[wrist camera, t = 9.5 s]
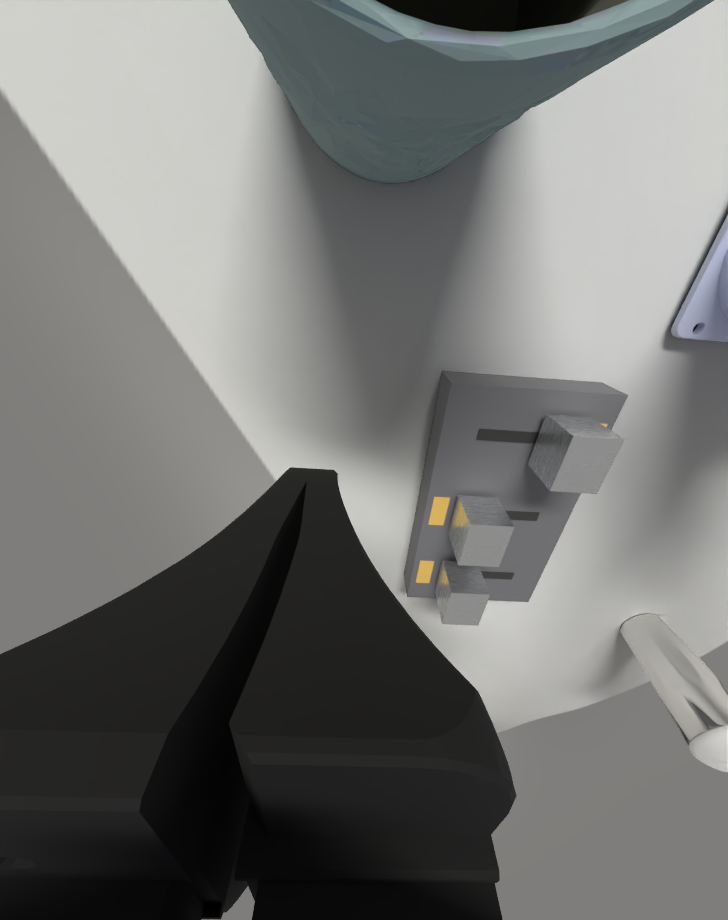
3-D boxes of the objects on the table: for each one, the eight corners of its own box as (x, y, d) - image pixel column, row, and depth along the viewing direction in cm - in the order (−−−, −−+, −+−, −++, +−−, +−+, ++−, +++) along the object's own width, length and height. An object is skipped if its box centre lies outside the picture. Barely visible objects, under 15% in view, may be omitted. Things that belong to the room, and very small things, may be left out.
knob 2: (477, 562, 21) (489, 594, 19) (467, 592, 22) (478, 625, 20) (442, 560, 21) (451, 593, 19) (434, 590, 22) (442, 624, 20)
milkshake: (683, 599, 26) (839, 762, 18) (657, 640, 29) (782, 798, 21) (624, 602, 27) (750, 764, 18) (604, 642, 29) (706, 800, 21)
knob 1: (497, 497, 19) (514, 526, 16) (484, 535, 20) (499, 566, 18) (458, 495, 18) (470, 524, 16) (448, 533, 20) (458, 565, 18)
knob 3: (590, 417, 16) (624, 439, 14) (568, 466, 18) (596, 493, 15) (546, 414, 16) (573, 436, 14) (527, 464, 17) (550, 491, 15)
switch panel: (601, 382, 18) (629, 395, 16) (516, 578, 25) (528, 602, 23) (442, 371, 17) (451, 383, 16) (404, 573, 25) (407, 597, 23)
